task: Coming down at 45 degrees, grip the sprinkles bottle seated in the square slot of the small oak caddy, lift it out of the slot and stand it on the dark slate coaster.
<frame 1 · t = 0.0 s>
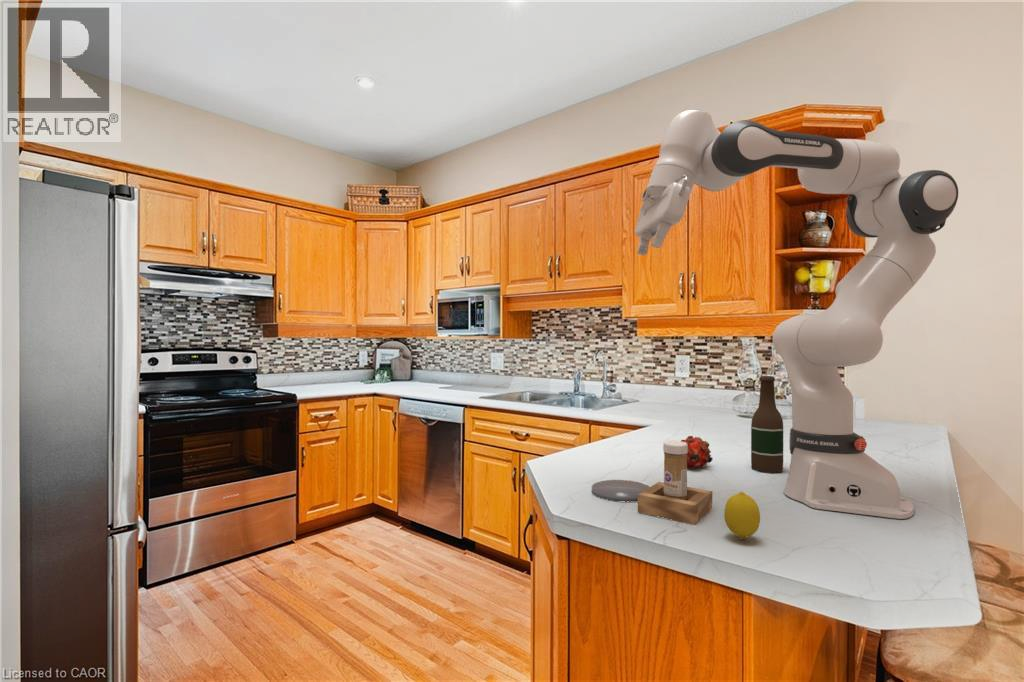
hand: (648, 250, 107), 52 cm above the counter, tool tilted 20°, fingers open, 8 cm apart
oak caddy: (675, 510, 102), on the counter
beer bottle: (767, 470, 132), on the counter
lemon: (741, 540, 87), on the counter
slate coaster: (621, 492, 113), on the counter
sprinkles bottle: (675, 511, 102), resting in oak caddy
dragon fruit: (693, 467, 136), on the counter
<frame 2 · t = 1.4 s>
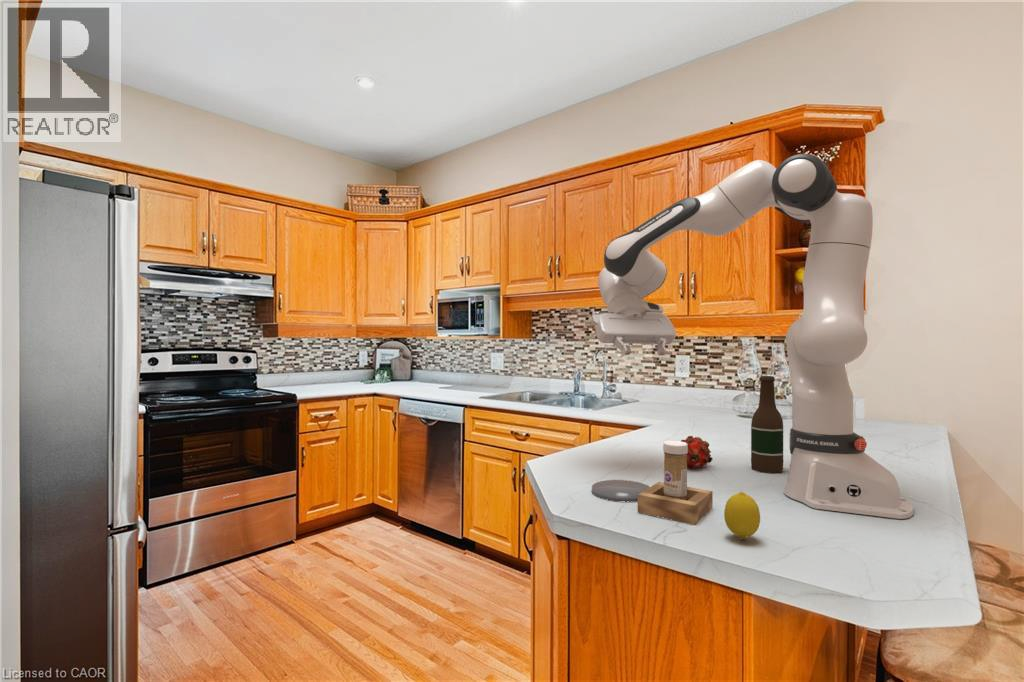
hand: (645, 353, 123), 30 cm above the counter, tool tilted 45°, fingers open, 8 cm apart
nothing on the counter moved.
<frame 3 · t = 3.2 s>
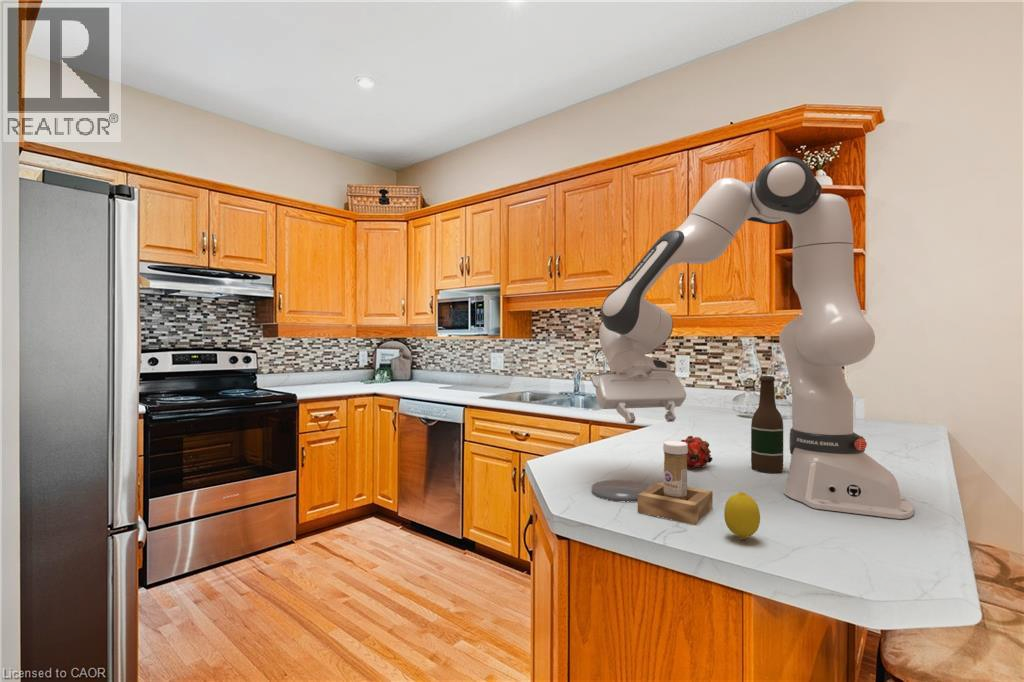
hand: (651, 421, 111), 16 cm above the counter, tool tilted 45°, fingers open, 8 cm apart
nothing on the counter moved.
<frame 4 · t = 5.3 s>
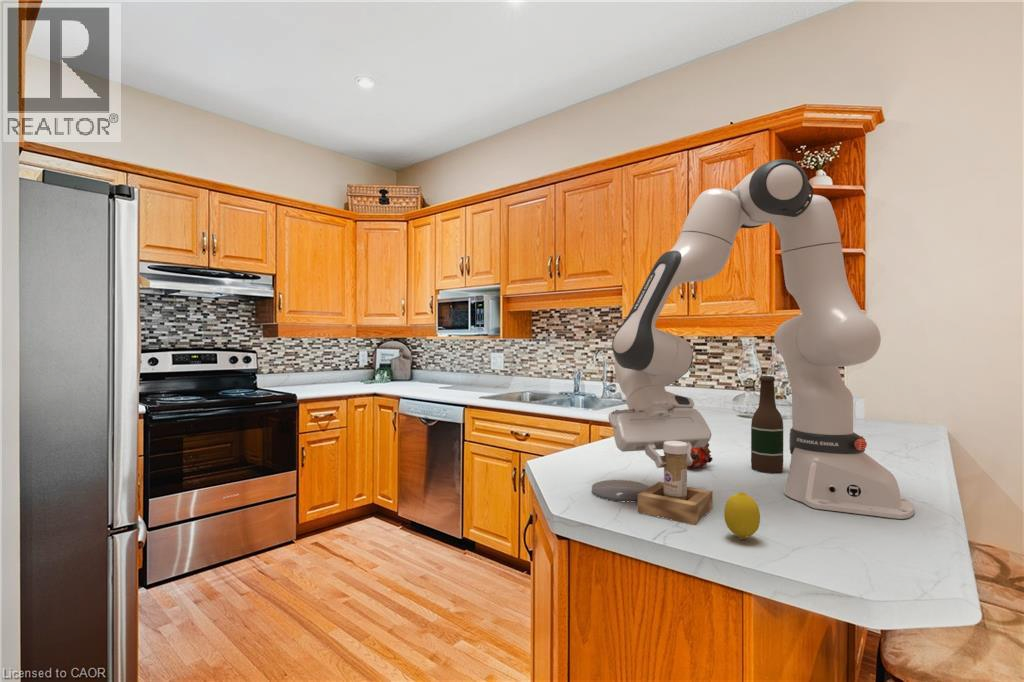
hand: (675, 465, 102), 9 cm above the counter, tool tilted 45°, fingers closed on sprinkles bottle, 4 cm apart
sprinkles bottle: (675, 511, 102), resting in oak caddy, touching gripper
everything else where it was.
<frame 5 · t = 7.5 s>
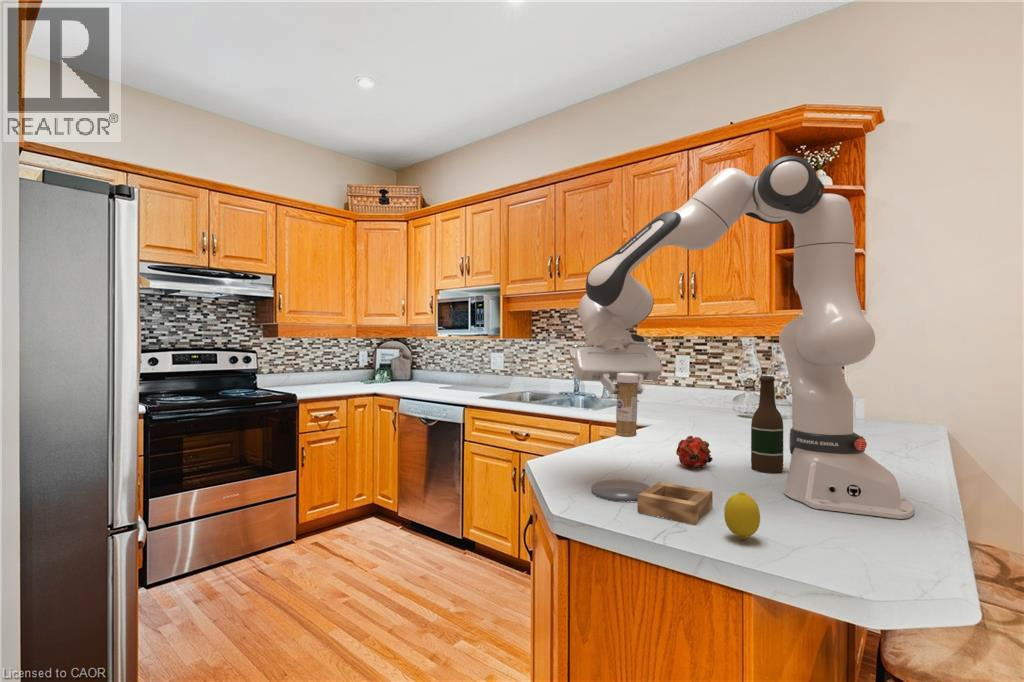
hand: (627, 392, 111), 22 cm above the counter, tool tilted 45°, fingers closed on sprinkles bottle, 4 cm apart
sprinkles bottle: (626, 436, 111), point 13 cm above the counter, touching gripper
everything else where it was.
when the fingers open (10 cm above the counter, at t = 10.2 s): sprinkles bottle stays where it is, resting on slate coaster.
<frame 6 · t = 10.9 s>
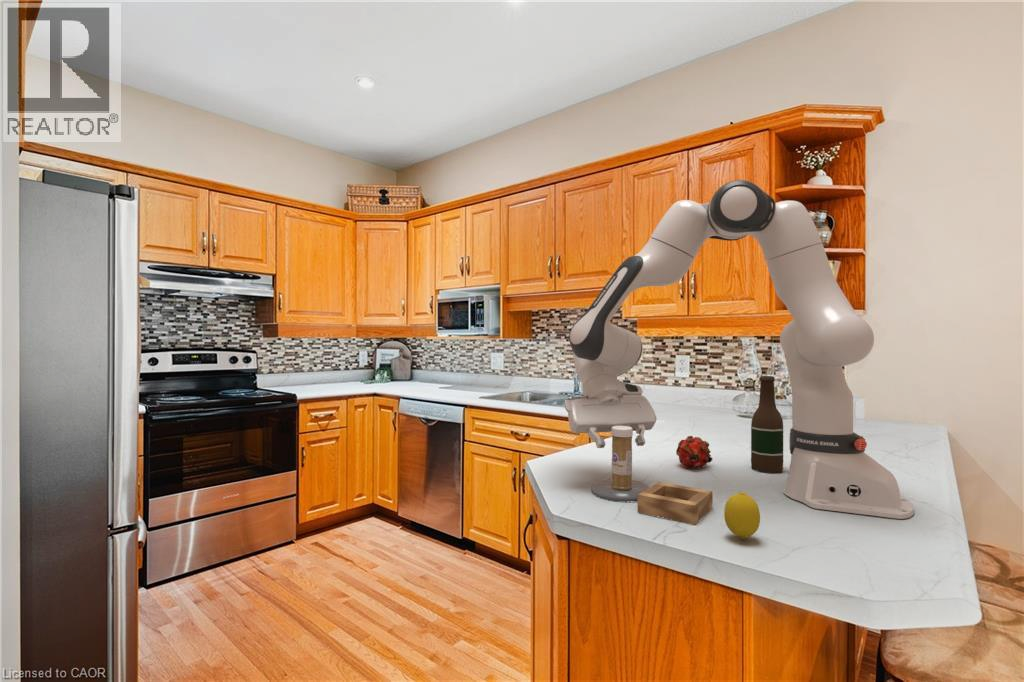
hand: (621, 445, 113), 10 cm above the counter, tool tilted 45°, fingers open, 8 cm apart
sprinkles bottle: (621, 488, 113), point 1 cm above the counter, touching slate coaster
everything else where it was.
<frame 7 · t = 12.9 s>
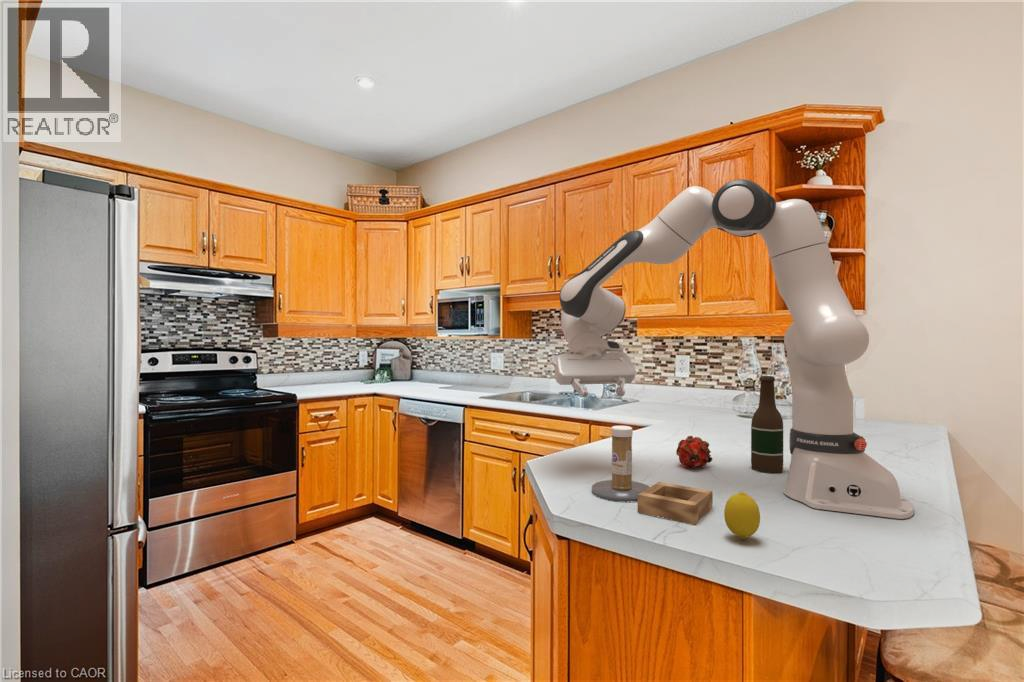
hand: (603, 395, 123), 20 cm above the counter, tool tilted 45°, fingers open, 8 cm apart
nothing on the counter moved.
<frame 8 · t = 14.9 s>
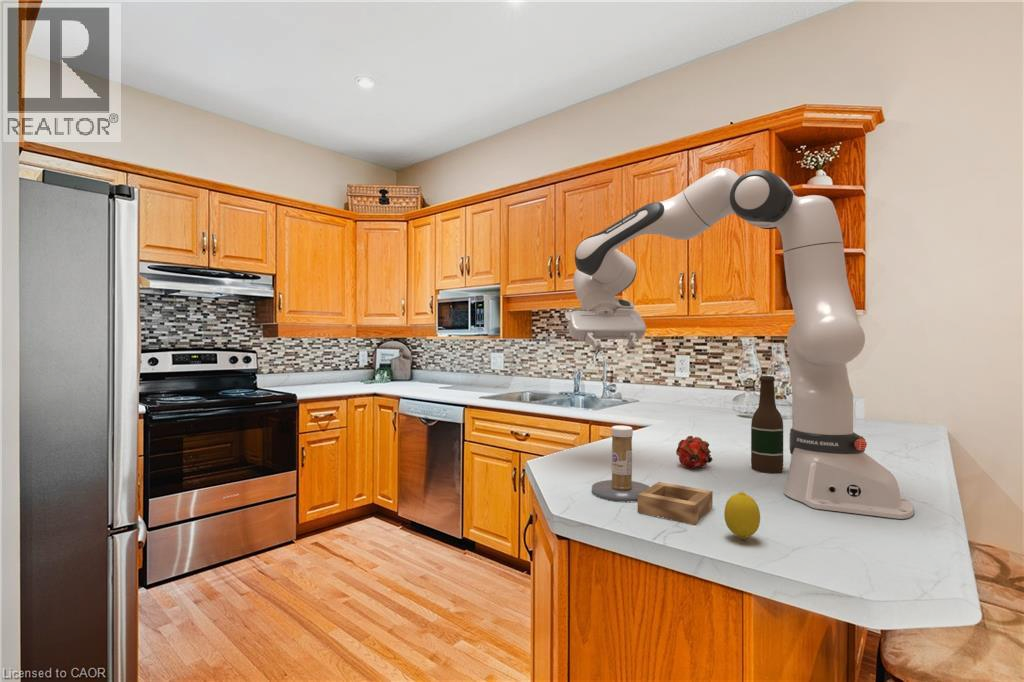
hand: (615, 348, 129), 31 cm above the counter, tool tilted 45°, fingers open, 8 cm apart
nothing on the counter moved.
at the end: sprinkles bottle inside the target area on the slate coaster (0.1 cm from its centre), point 0.8 cm above the slate coaster's base; sprinkles bottle tilted 0°; the gripper is holding nothing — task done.
